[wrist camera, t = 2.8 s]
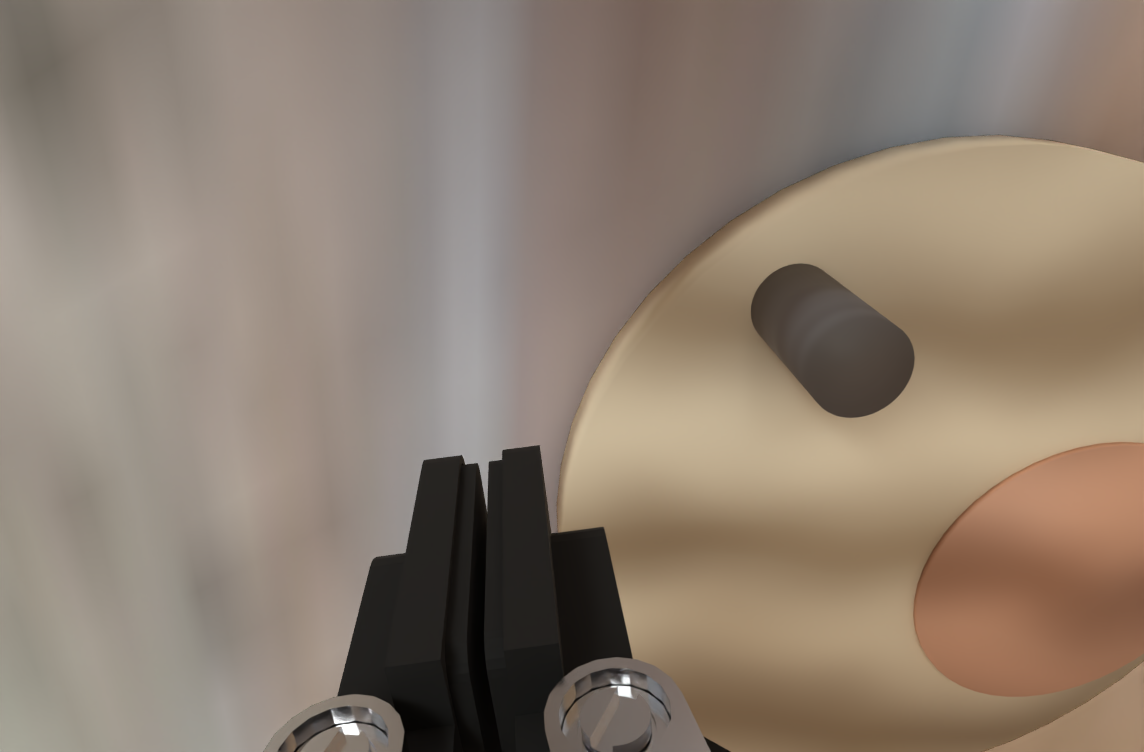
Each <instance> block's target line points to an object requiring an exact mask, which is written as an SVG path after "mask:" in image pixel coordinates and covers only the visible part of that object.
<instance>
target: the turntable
mask: <svg viewBox="0 0 1144 752" xmlns="http://www.w3.org/2000/svg"><path fill="white" fill-rule="evenodd" d="M556 506H557V528H558V533H559V532H567V531H574V530H582V529H589V528H597V527H604V529H605V533H606V538H607V542H608V547H609V551H610V556H611V561H612V565H613V570H614V574H615V579H616V583H617V588H618V593H619V597H620V602H621V606H622V611H623V615H624V620H625V625H626V629H627V634H628V638H629V643H630V647H631V652H632V656H633V659H637V660H640V661H643V662H646V663H648V664H651V665H654V666H656V667H657V668H659V669H660V670H661V671H663V672H664V673H666V674H667V675H668V676H670V677H671V678H672V679H673V681H674V682H675V684H676V685H677V686H678V688H679V689H680V690H681V692H682V694H683V696H684V698H685V700H686V702H687V704H688V706H689V708H690V710H691V712H692V714H693V716H694V718H695V720H696V722H697V724H698V726H699V728H700V731H701V733H702V735H703V736H704V737H706V738H707V739H709V740H711V741H713V742H715V743H716V744H718V745H720V746H722V747H723V748H725V749H727V750H729V751H731V752H983V751H986V750H989V749H991V748H994V747H997V746H999V745H1002V744H1005V743H1007V742H1010V741H1012V740H1015V739H1017V738H1019V737H1021V736H1023V735H1025V734H1027V733H1030V732H1032V731H1034V730H1036V729H1038V728H1040V727H1042V726H1045V725H1047V724H1049V723H1051V722H1053V721H1054V720H1056V719H1058V718H1060V717H1061V716H1063V715H1065V714H1067V713H1068V712H1070V711H1072V710H1074V709H1076V708H1077V707H1079V706H1081V705H1083V704H1084V703H1086V702H1088V701H1089V700H1091V699H1092V698H1094V697H1095V696H1097V695H1098V694H1099V693H1101V692H1102V691H1104V690H1105V689H1107V688H1108V687H1110V686H1111V685H1113V684H1114V683H1116V682H1117V681H1119V680H1120V679H1122V678H1123V677H1124V676H1125V675H1127V674H1128V673H1129V672H1131V671H1132V670H1133V669H1134V668H1136V667H1137V666H1138V665H1139V664H1141V663H1142V662H1143V661H1144V163H1143V162H1139V161H1136V160H1132V159H1128V158H1124V157H1120V156H1117V155H1113V154H1109V153H1105V152H1102V151H1098V150H1094V149H1089V148H1084V147H1080V146H1075V145H1070V144H1065V143H1061V142H1056V141H1051V140H1043V139H1033V138H1023V137H1013V136H1003V135H988V136H966V137H945V138H939V139H934V140H928V141H923V142H917V143H912V144H907V145H901V146H896V147H890V148H887V149H884V150H880V151H877V152H874V153H871V154H868V155H865V156H862V157H859V158H856V159H852V160H849V161H846V162H843V163H840V164H837V165H834V166H832V167H829V168H827V169H825V170H823V171H821V172H819V173H817V174H814V175H812V176H810V177H808V178H806V179H804V180H801V181H799V182H797V183H795V184H793V185H791V186H788V187H786V188H784V189H782V190H780V191H778V192H777V193H775V194H774V195H772V196H770V197H769V198H767V199H765V200H764V201H762V202H761V203H759V204H757V205H756V206H754V207H752V208H751V209H749V210H748V211H746V212H744V213H743V214H741V215H739V216H738V217H736V218H735V219H733V220H731V221H730V222H729V223H728V224H726V225H725V226H724V227H723V228H721V229H720V230H719V231H717V232H716V233H715V234H714V235H712V236H711V237H710V238H709V239H707V240H706V241H705V242H704V243H702V244H701V245H700V246H699V247H697V248H696V249H695V250H694V251H692V252H691V253H690V254H688V255H687V256H686V257H685V258H684V259H683V260H682V261H681V262H680V263H679V264H678V265H677V266H676V267H675V268H674V269H673V270H672V271H671V272H670V273H669V274H668V275H667V276H666V277H665V278H664V279H663V280H662V281H661V282H660V283H659V284H658V285H657V286H656V287H655V288H654V289H653V290H652V291H651V292H650V293H649V294H648V296H647V297H646V298H645V299H644V301H643V302H642V303H641V305H640V306H639V307H638V308H637V310H636V311H635V312H634V314H633V315H632V316H631V317H630V319H629V320H628V321H627V323H626V324H625V325H624V326H623V328H622V329H621V330H620V332H619V333H618V334H617V336H616V337H615V339H614V340H613V342H612V344H611V345H610V347H609V349H608V350H607V352H606V354H605V356H604V357H603V359H602V361H601V362H600V364H599V366H598V367H597V369H596V371H595V372H594V374H593V376H592V378H591V379H590V382H589V384H588V386H587V389H586V391H585V393H584V396H583V398H582V401H581V403H580V405H579V408H578V410H577V412H576V415H575V417H574V419H573V422H572V425H571V429H570V433H569V436H568V440H567V444H566V448H565V452H564V455H563V459H562V463H561V469H560V478H559V487H558V496H557V505H556Z"/></svg>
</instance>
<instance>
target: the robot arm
mask: <svg viewBox="0 0 1144 752" xmlns="http://www.w3.org/2000/svg"><path fill="white" fill-rule="evenodd" d="M263 752H731V751H729V750H727V749H725V748H723V747H722V746H720V745H718V744H716V743H715V742H713V741H711V740H709V739H707V738H706V737H704V736H703V735H702V733H701V731H700V728H699V726H698V724H697V722H696V720H695V718H694V716H693V714H692V712H691V710H690V708H689V706H688V704H687V702H686V700H685V698H684V696H683V694H682V692H681V690H680V689H679V688H678V686H677V685H676V684H675V682H674V681H673V679H672V678H671V677H670V676H668V675H667V674H666V673H664V672H663V671H661V670H660V669H659V668H657V667H656V666H654V665H651V664H648V663H646V662H643V661H640V660H637V659H633V656H632V652H631V647H630V643H629V638H628V634H627V629H626V625H625V620H624V615H623V611H622V606H621V602H620V597H619V593H618V588H617V583H616V579H615V574H614V570H613V565H612V561H611V556H610V551H609V547H608V542H607V538H606V533H605V529H604V527H597V528H589V529H582V530H574V531H567V532H559V533H552V534H551V528H550V520H549V512H548V505H547V497H546V490H545V482H544V474H543V467H542V459H541V452H540V445H537V446H530V447H522V448H514V449H507V450H503V451H502V460H498V461H490V462H489V472H488V508H487V510H486V504H485V498H484V492H483V487H482V481H481V475H480V470H479V466H478V463H475V464H467V465H465V462H464V459H463V456H462V455H460V456H452V457H445V458H437V459H429V460H424V461H423V464H422V469H421V475H420V480H419V485H418V490H417V496H416V501H415V506H414V512H413V517H412V522H411V528H410V533H409V538H408V543H407V549H406V553H403V554H396V555H388V556H381V557H376V558H374V559H373V561H372V563H371V566H370V569H369V573H368V577H367V581H366V585H365V589H364V593H363V597H362V601H361V605H360V609H359V613H358V617H357V621H356V625H355V629H354V633H353V637H352V641H351V645H350V648H349V652H348V656H347V660H346V664H345V668H344V672H343V676H342V680H341V684H340V688H339V692H338V696H337V697H333V698H330V699H328V700H325V701H322V702H320V703H317V704H314V705H312V706H310V707H309V708H307V709H305V710H304V711H302V712H301V713H299V714H297V715H296V716H294V717H293V718H291V719H290V720H289V721H288V722H287V723H286V724H285V725H284V726H283V727H282V728H281V729H280V730H279V731H277V732H276V733H275V734H274V736H273V737H272V739H271V740H270V742H269V743H268V745H267V746H266V748H265V749H264V751H263Z"/></svg>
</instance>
